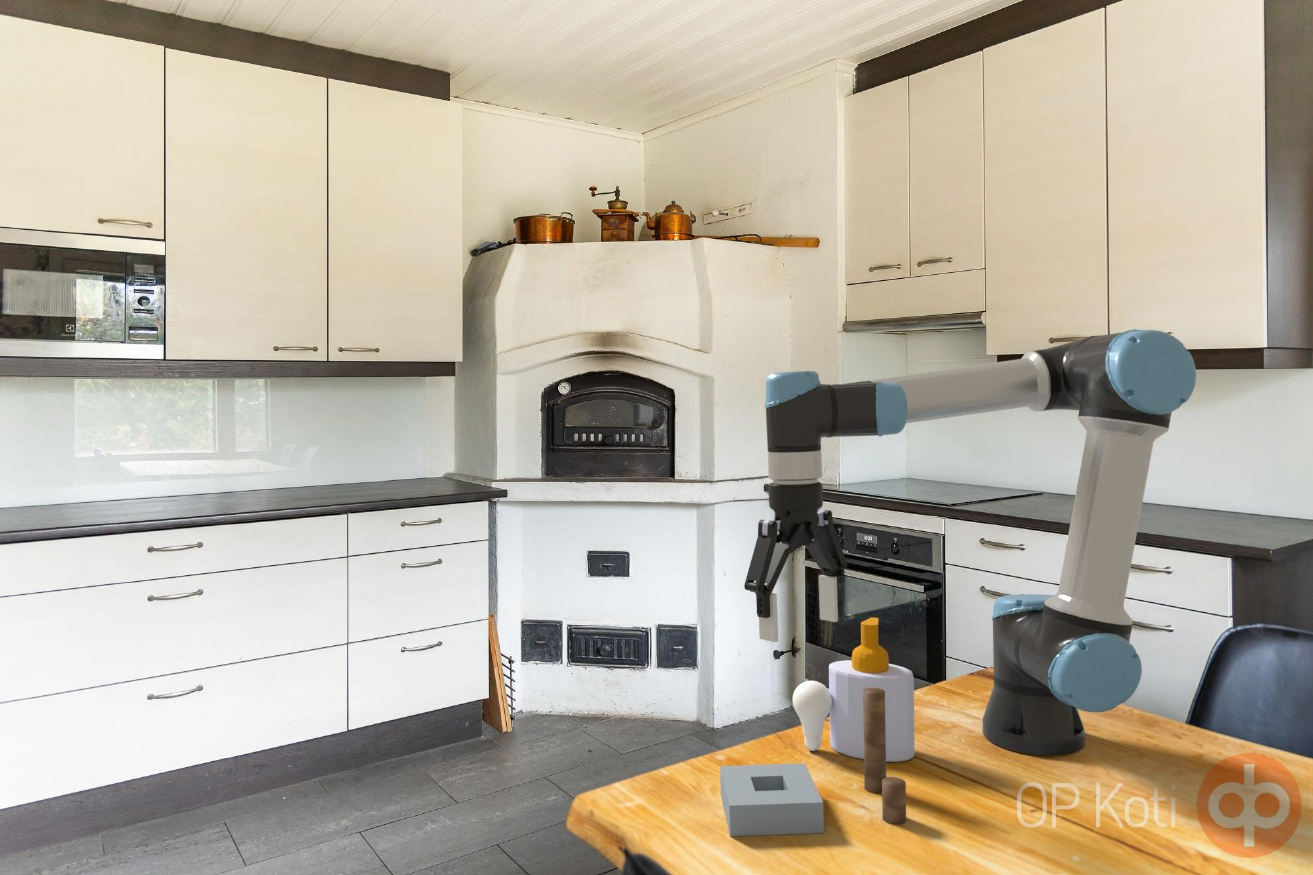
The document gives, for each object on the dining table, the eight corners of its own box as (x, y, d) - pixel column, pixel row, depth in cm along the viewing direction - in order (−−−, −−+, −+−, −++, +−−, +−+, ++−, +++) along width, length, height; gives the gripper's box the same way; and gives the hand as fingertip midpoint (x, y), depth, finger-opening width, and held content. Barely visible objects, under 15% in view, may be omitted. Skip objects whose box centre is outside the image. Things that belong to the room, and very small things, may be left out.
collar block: (805, 790, 123) (804, 763, 123) (823, 832, 111) (823, 802, 111) (720, 793, 123) (720, 765, 123) (730, 836, 111) (729, 805, 111)
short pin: (902, 813, 116) (901, 776, 116) (909, 824, 113) (908, 786, 113) (879, 814, 116) (879, 777, 116) (886, 824, 113) (885, 787, 113)
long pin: (882, 783, 125) (881, 687, 124) (888, 792, 122) (887, 694, 121) (862, 784, 125) (860, 687, 124) (867, 793, 122) (866, 695, 121)
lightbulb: (832, 759, 134) (831, 688, 133) (792, 757, 135) (791, 687, 134) (832, 743, 140) (831, 676, 139) (794, 741, 141) (793, 674, 140)
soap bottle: (919, 748, 137) (918, 620, 136) (909, 768, 130) (907, 633, 129) (837, 735, 143) (835, 613, 142) (822, 753, 136) (820, 625, 135)
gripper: (826, 472, 134) (831, 608, 135) (714, 488, 117) (720, 644, 118) (868, 474, 128) (872, 616, 129) (757, 491, 112) (762, 654, 113)
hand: (800, 629), depth 124 cm, fingers open, 13 cm apart
